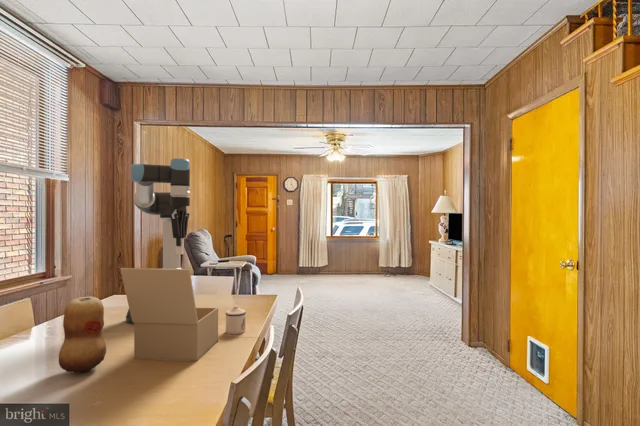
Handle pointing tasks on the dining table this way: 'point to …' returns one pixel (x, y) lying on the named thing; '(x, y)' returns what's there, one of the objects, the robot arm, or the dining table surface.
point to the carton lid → (160, 295)
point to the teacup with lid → (235, 320)
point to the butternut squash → (83, 335)
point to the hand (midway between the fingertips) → (179, 253)
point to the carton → (177, 338)
